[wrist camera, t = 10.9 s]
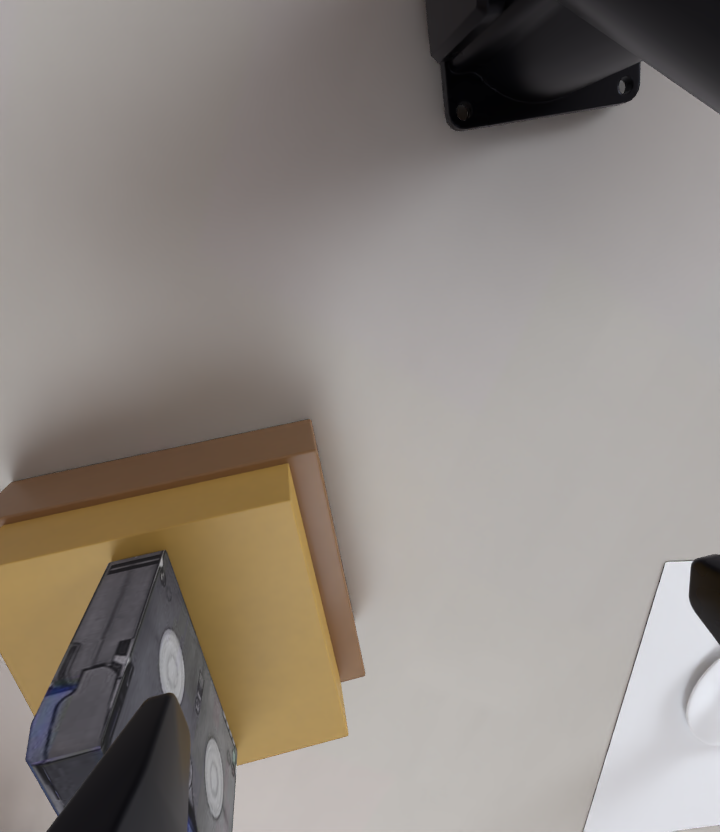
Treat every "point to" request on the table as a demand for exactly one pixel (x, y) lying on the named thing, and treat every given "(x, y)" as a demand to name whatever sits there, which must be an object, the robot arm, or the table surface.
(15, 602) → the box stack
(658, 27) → the robot arm
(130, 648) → the mini dv tape
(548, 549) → the table surface
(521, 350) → the table surface
